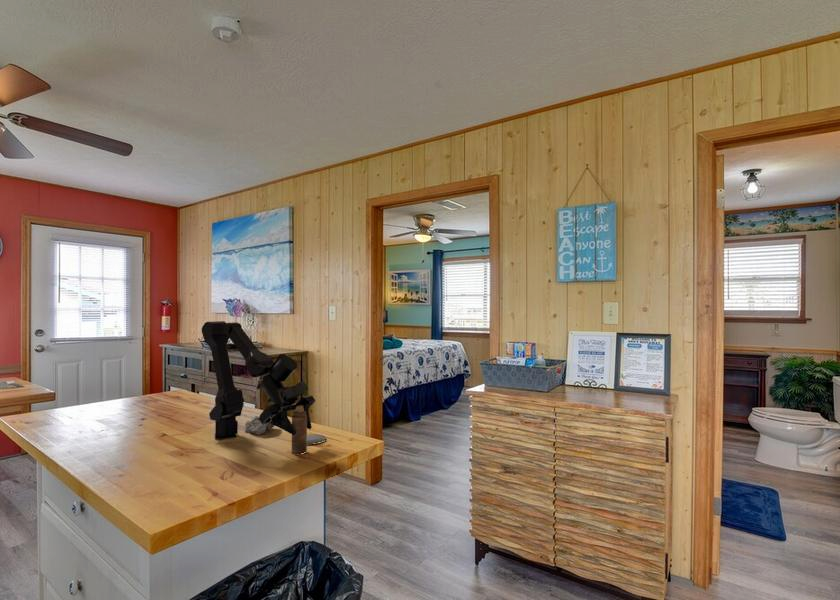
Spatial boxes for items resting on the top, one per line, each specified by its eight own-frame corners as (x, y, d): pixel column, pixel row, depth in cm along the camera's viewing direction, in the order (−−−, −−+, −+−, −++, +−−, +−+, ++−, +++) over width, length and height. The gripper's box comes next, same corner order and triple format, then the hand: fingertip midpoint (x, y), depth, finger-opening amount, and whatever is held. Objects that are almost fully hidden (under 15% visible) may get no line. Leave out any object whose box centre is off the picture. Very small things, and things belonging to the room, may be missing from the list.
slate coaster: (297, 446, 139) (297, 445, 139) (292, 438, 148) (292, 436, 148) (329, 442, 143) (329, 441, 143) (321, 434, 152) (321, 432, 152)
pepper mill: (292, 455, 131) (293, 407, 131) (290, 451, 135) (290, 404, 135) (308, 453, 133) (308, 406, 133) (305, 449, 137) (305, 403, 137)
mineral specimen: (258, 439, 149) (235, 430, 155) (283, 432, 158) (261, 424, 165) (260, 421, 149) (237, 414, 155) (285, 416, 158) (262, 409, 165)
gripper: (266, 378, 128) (294, 422, 122) (311, 370, 144) (337, 408, 139) (247, 402, 131) (273, 446, 126) (293, 392, 148) (318, 430, 143)
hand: (302, 431), depth 133 cm, fingers open, 6 cm apart
